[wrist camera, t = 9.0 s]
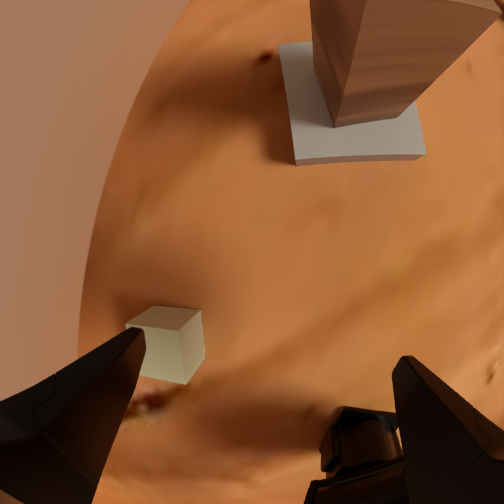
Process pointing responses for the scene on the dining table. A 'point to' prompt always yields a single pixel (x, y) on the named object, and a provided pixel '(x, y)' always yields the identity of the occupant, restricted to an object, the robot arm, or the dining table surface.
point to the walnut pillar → (388, 51)
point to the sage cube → (171, 342)
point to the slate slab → (343, 138)
